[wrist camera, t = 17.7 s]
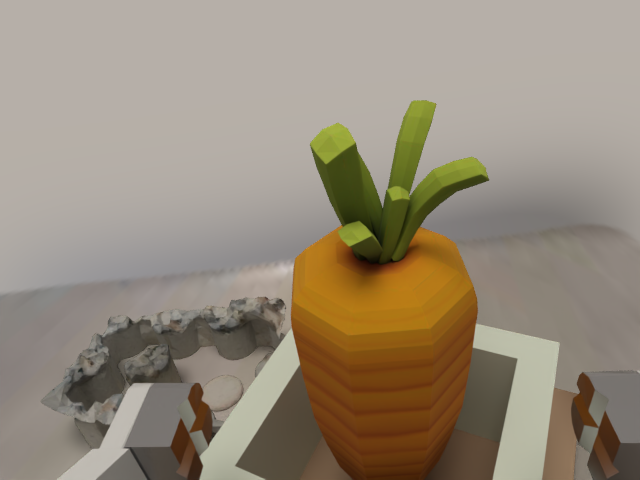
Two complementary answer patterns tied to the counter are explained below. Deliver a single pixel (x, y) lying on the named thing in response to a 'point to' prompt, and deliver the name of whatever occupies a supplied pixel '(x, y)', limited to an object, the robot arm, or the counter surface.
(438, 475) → the walnut board
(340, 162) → the carrot
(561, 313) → the counter surface
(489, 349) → the square open planter
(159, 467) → the robot arm
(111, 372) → the egg carton
